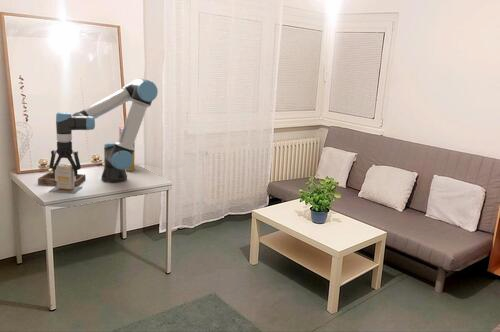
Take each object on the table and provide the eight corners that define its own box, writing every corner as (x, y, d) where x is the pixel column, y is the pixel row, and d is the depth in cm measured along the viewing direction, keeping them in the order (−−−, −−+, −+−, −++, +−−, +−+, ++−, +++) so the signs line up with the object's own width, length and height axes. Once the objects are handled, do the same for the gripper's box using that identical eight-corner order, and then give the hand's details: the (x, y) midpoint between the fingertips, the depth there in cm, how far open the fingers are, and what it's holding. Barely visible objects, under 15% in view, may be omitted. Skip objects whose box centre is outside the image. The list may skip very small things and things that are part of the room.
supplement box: (74, 187, 239) (75, 165, 236) (70, 190, 234) (70, 167, 231) (60, 186, 239) (60, 163, 236) (56, 188, 235) (56, 165, 232)
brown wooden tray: (85, 180, 258) (85, 174, 257) (77, 186, 244) (77, 180, 243) (48, 178, 256) (48, 172, 255) (38, 184, 243) (37, 178, 242)
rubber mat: (82, 187, 243) (82, 186, 243) (74, 193, 232) (74, 192, 232) (57, 186, 242) (57, 185, 242) (48, 192, 231) (48, 191, 231)
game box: (134, 171, 286) (134, 131, 280) (126, 171, 283) (126, 131, 277) (126, 164, 303) (126, 126, 297) (118, 164, 300) (118, 126, 294)
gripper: (86, 141, 235) (87, 180, 240) (46, 138, 234) (48, 178, 239) (82, 143, 228) (83, 183, 233) (41, 141, 226) (42, 181, 232)
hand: (65, 181), depth 236 cm, fingers open, 9 cm apart
